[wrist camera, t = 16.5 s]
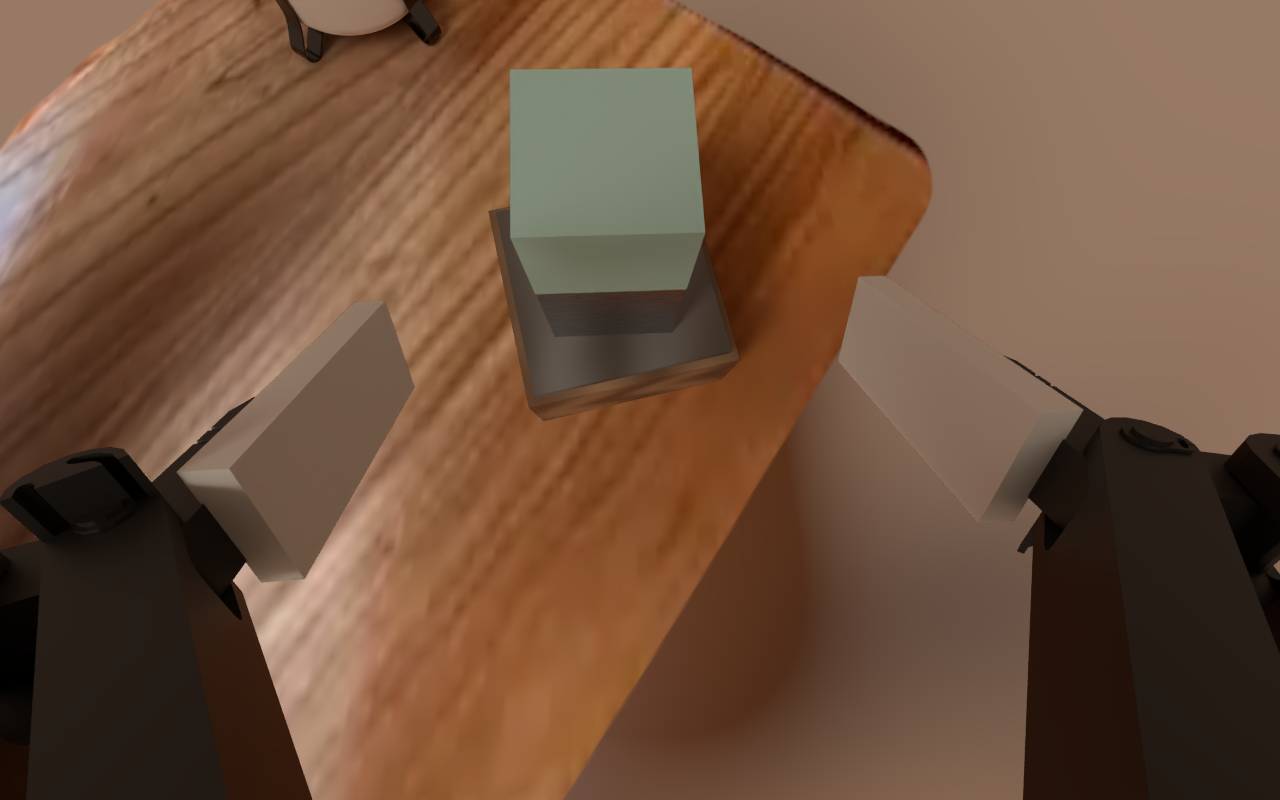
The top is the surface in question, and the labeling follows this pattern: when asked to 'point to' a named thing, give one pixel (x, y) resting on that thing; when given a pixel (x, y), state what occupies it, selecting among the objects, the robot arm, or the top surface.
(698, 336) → the walnut stand
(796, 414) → the top surface
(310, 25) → the coffee press
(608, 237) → the lid
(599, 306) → the base
